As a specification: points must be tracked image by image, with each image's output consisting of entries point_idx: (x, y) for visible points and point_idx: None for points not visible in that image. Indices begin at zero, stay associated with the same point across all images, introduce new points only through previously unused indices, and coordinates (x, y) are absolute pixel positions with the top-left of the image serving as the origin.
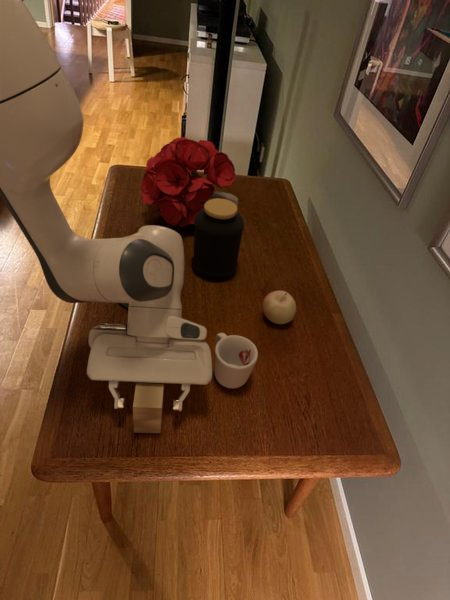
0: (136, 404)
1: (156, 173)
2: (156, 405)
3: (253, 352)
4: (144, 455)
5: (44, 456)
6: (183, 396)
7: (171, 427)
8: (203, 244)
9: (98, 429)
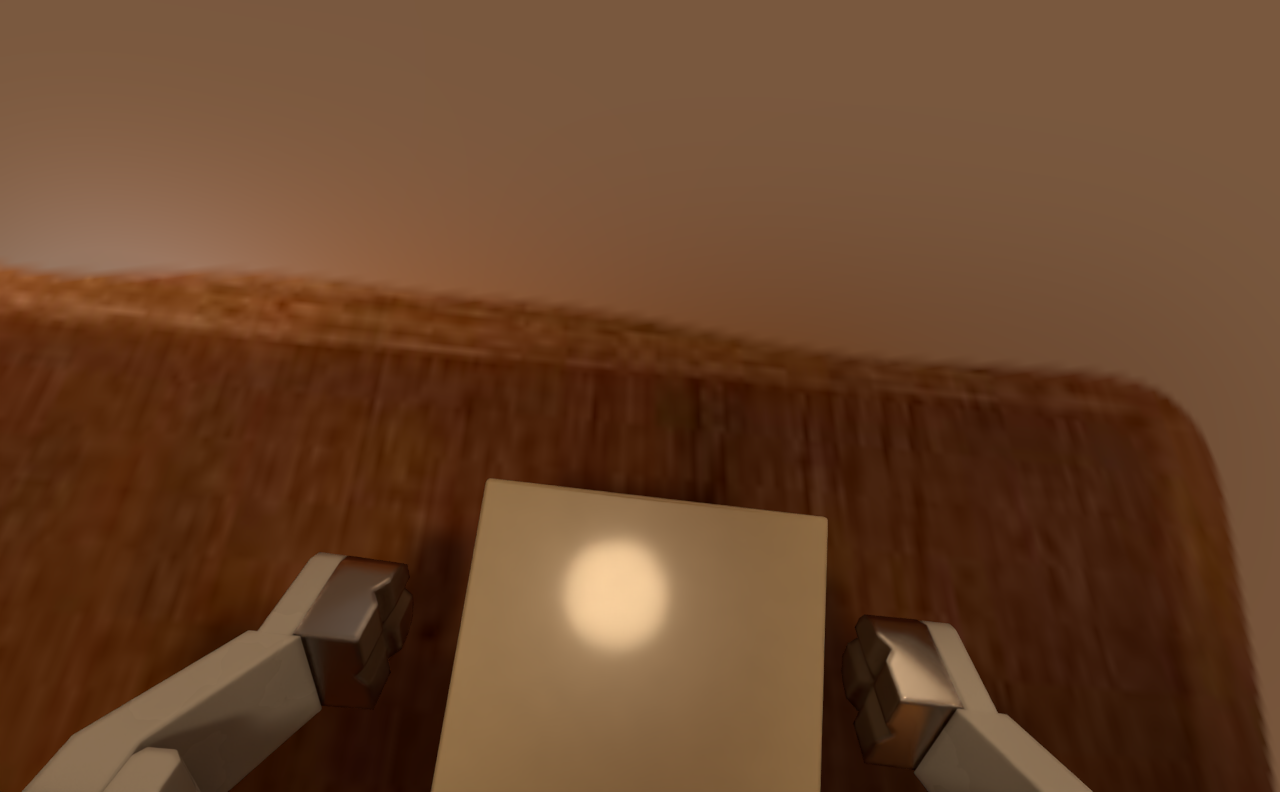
0: (787, 548)
1: None
2: (548, 514)
3: None
4: (653, 379)
5: (1184, 427)
6: (211, 671)
7: None
8: None
9: (937, 571)
